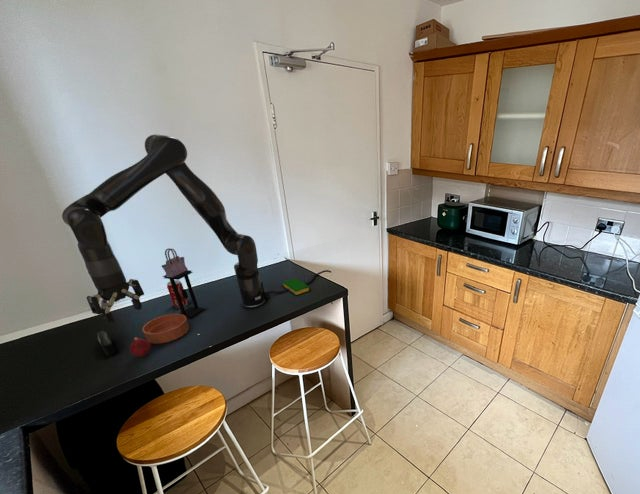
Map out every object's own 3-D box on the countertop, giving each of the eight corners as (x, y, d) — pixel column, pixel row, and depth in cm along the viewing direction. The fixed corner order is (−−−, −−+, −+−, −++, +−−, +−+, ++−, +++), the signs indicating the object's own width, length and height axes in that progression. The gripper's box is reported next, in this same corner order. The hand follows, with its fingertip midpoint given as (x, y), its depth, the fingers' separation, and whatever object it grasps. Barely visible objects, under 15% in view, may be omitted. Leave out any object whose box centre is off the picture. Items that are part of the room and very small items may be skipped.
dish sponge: (296, 282, 166) (295, 277, 165) (309, 290, 157) (308, 286, 156) (283, 286, 162) (282, 282, 161) (296, 295, 153) (295, 290, 152)
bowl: (171, 321, 132) (167, 311, 130) (198, 327, 128) (194, 316, 126) (137, 341, 120) (132, 330, 117) (166, 347, 116) (161, 336, 114)
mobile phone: (112, 343, 111) (103, 326, 119) (101, 347, 109) (92, 329, 117) (118, 354, 113) (108, 337, 122) (107, 358, 111) (98, 340, 120)
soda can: (175, 309, 141) (166, 285, 135) (173, 304, 144) (164, 281, 139) (189, 305, 144) (181, 282, 139) (187, 301, 148) (179, 278, 142)
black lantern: (189, 320, 133) (165, 254, 120) (174, 318, 134) (149, 252, 121) (207, 307, 142) (187, 245, 129) (193, 306, 143) (172, 243, 130)
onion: (158, 352, 113) (150, 334, 110) (141, 363, 108) (133, 344, 105) (146, 349, 115) (138, 331, 112) (130, 359, 110) (121, 340, 107)
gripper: (87, 282, 90) (110, 328, 97) (137, 263, 102) (154, 306, 109) (69, 278, 92) (93, 325, 99) (120, 261, 104) (138, 303, 111)
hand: (125, 315), depth 104 cm, fingers open, 8 cm apart
